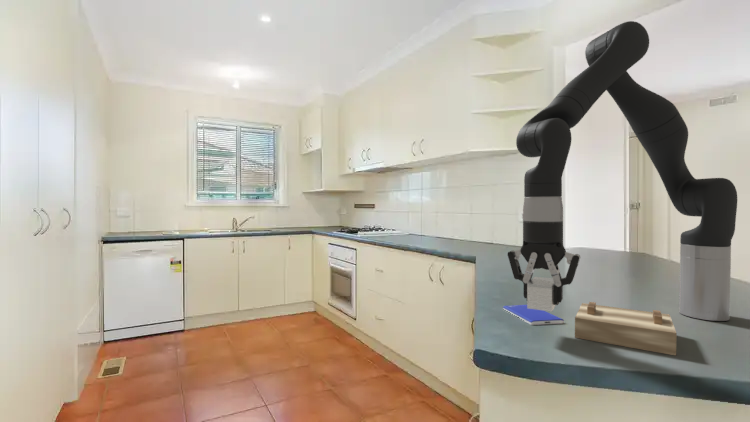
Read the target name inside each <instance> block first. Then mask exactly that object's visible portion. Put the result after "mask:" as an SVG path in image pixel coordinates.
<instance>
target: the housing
mask: <svg viewBox="0 0 750 422" xmlns="http://www.w3.org/2000/svg"><path fill="white" fill-rule="evenodd" d="M554 286H555V284H554V281H553V278H552V277H542V276H541V277H540V276H534V277H532V279H531V280H530V281H529V282H528V283H527V298H526V303H527V304H526V305H527V308H529V309H536V310H543V311H546V312H551V313H552V312H553V311H554V309H555V307H556V306H557V305H554Z"/></svg>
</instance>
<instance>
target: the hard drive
mask: <svg viewBox="0 0 750 422" xmlns="http://www.w3.org/2000/svg"><path fill="white" fill-rule="evenodd" d="M503 309H504V310H506V311H508V312H510V313H511V314H510V313H509V314H510V315H512V314H513V315H512V316H514V315H515V316H517V317H519V318H520V319H519V318H518V319H519V320H521V319H522V320H521V321H523V320H524V321H523V322H525V323H527V324H529V325H530V326H537V325H539V326H540V325H553V324H554V325H555V324H565V320H564V318H561V317H558V316H557V315H555V314H552V313H550V312H549V311H543V310H536V309H529V308H527V304H517V305H516V304H515V305H514V304H512V305H504V306H502V310H503ZM504 310H503V311H504ZM506 311H505V312H506ZM508 312H507V313H508ZM515 316H514V317H515ZM517 317H516V318H517Z"/></svg>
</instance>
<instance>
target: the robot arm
mask: <svg viewBox="0 0 750 422" xmlns="http://www.w3.org/2000/svg"><path fill="white" fill-rule="evenodd" d="M649 47H650V37H649V34H648V31H647V29H646V28H645V26H643V25H642V24H641V23H640V22H638V21H633V20H631V21H630V20H629V21H624V22H622V23H620V24H618V25H616V26H614V27H612V28H610V29H608V30H607V31H606V32H604V33H601V34H600V35H599V36H597V37H595V38H593V39H591V41H589V42H588V44H587V45H586V47H585V51H584V55H585V60H586V63H587V65H588V67H587V68H585V69H584V70H583V71H581V73H579V74H578V75H576V76H575V77H574V78H573V79H571V80H570V82H568V83H567V84H566V85H565V86H564V87H563V88H562V89H561V90H560V91H559V92H558V94H557V95H556V96H555V97H554V98H553V99H552V100H551V102H550V103H549V104H548V106H546V107H545V108H543V109H541V110H540V111H539V112H537V113H536V114H535V115H534V116H533V117H531V118H530V119H529V120H528V121H526V123H524V125H523V126H522V127H521V128H520V130H519V131H518V133H517V137H516V140H515V141H516V142H515V143H516V149H517V150H518V152H519V153H520V154H521V155H522V156H524V157H527V158H539V159H538V162H537V164H536V165H535V166H534V167H532V168H530V169H527V171H525V173H524V179H523V181H524V182H523V185H524V189H523V190H524V192H523V193H524V194H523V195H524V196H523V204H522V205H523V207H522V246H521V247H520V249H517V250H510V251H508V252H507V257H508V261H509V265H510V269H511V271H512V275H513V278H514V280H519V281H521V282H522V284H523V297H524V299H527V283H528V282H529V281H530V280H532V279H533V276H534V273H535V271H536V269H537V270H539V269H542V270H546V271H547V270H548V271H549V273H550V275H551V278H553V281H554V284H555V286H554V305H556V306H558V305H559V304H560V303H562V301H563V300H564V297H563V295H564V294H563V291H564V289H563V288H564V286H566V285H571V284H572V283H573V281H574V278H575V275H576V272H577V269H578V267H579V263H580V259H581V255H580V254H578V253H576V254H574V253H572V252H571V253H570V252H568V251H566V249H565V247H564V205H563V192H562V191H563V190H562V189H563V183H562V181H563V180H562V179H563V177H562V176H563V175H564V174H563V173H564V170H565V168H566V164H567V160H568V157H569V153H570V149H571V145H572V133H571V129H572V128H574V127H575V126H576V125H577V124H579V123H580V122H581V120H582V119H583V118H584V117H585V116H586V114H587V113H588V112H589V111H590V109H592V107H593V106H594V104H595V103H596V102H597V101H598V100H599V98H601V97H602V95H603V94H604V93H605V92H607V93H608V94H609V96H610V97H611V98H612V99H613V100H614V102H615V104H616V105H617V106H618V109H620V111H621V113H622V114H623V115H624V117H625V119H626V121H627V122H628V124H629V126H630V127H631V129H632V132H633V133H634V135H635V137H636V138H637V140H638V142H639V143H640V144H641V147H643V149H644V150H645V152H646V154H647V156H649V158H650V160H651V162H652V164H653V166H654V168H655V169H656V171H657V173H658V175H659V177H660V179H661V181H662V184H663V186H664V188H665V191H666V193H667V196H668V197H669V200H670V202H671V203H672V205H673V206H674V208H675V209H676V211H678V213H680V214H681V215H684V216H687V217H701V219H700V222H699V224H698V225H697V226H696V227H694V228H692V229H689V230H685V231H683V232H682V233H680V247H679V248H680V250H679V251H680V252H679V254H680V256H679V258H680V260H679V264H680V265H679V296H678V297H679V299H678V300H679V302H678V303H679V304H678V307H679V309H678V311H679V314H681V315H683V316H686V317H689V318H690V317H691V318H694V319H698V320H705V321H714V322H715V321H716V322H725V321H730V317H731V316H730V313H731V311H730V307H731V274H732V272H731V269H732V267H731V265H732V264H731V263H732V262H731V261H732V258H731V257H732V239H733V237H734V235H735V231H736V220H737V211H738V209H737V208H738V192H737V189H736V186H735V184H734V183H733V182H732V181H731V180H730V179H728V178H724V177H710V178H707V177H706V178H695V177H694V175H692V173H691V171H690V170H689V168H688V166H687V163H686V161H685V155H686V150H687V145H688V139H689V129H688V126H687V124H686V122H685V120H684V119H683V117H682V115H681V113H680V111H679V109H678V108H677V107H676V105H675V104H674V103H673V102H672V101H671V100H668V99H667V98H666V97H664V96H662V95H659V93H656V92H654V91H652V90H650V89H648V88H646V87H644V86H642V85H640V84H639V83H638V82H636V81H635V80H634V78H632V76H631V75H630V74H629V73H628V70H630V69H631V68H632V67H633V66H634V65H635V64H637V63H638V62H639V61H640V60H642V59H643V58H644V57H645V55H646V54H647V52H648V50H649ZM577 126H578V125H577ZM521 255H522V257H523V258H524V260H525V261H526V262H527V264H526V268H525V271H524V272H525V273H523V272H522V269H521V268H522V267H521V265H520V261H519V260H520V259H521ZM564 258H565V259H566V263H567V264H568V265H569V267H568V269H567V273H566V275H565V277H562V274H561V271H560V267H559V264H560V263H561V261H562V260H563V259H564Z"/></svg>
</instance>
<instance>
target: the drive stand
mask: <svg viewBox="0 0 750 422" xmlns="http://www.w3.org/2000/svg"><path fill="white" fill-rule="evenodd" d="M677 334H678V333H677V331H676V328H675V325H674V323H673V320H672V317H671V314H668V313H662V312H661V310H656V309H652V312H651V311H645V310H638V309H631V308H630V309H629V308H623V307H615V306H607V305H602V304H601V305H600V304H597V302H595V301H589V302H588V303H585V302H582V303H581V304H580V306H579V309H578V310H577V313H576V315H575V317H574V338H575V339H582V340H587V341H592V342H597V343H598V342H599V343H602V344H603V343H604V344H610V345H614V346H620V347H621V346H622V347H626V348H632V349H636V350H637V349H638V350H642V351H643V350H644V351H648V352H654V353H659V354H665V355H671V356H677Z"/></svg>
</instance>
